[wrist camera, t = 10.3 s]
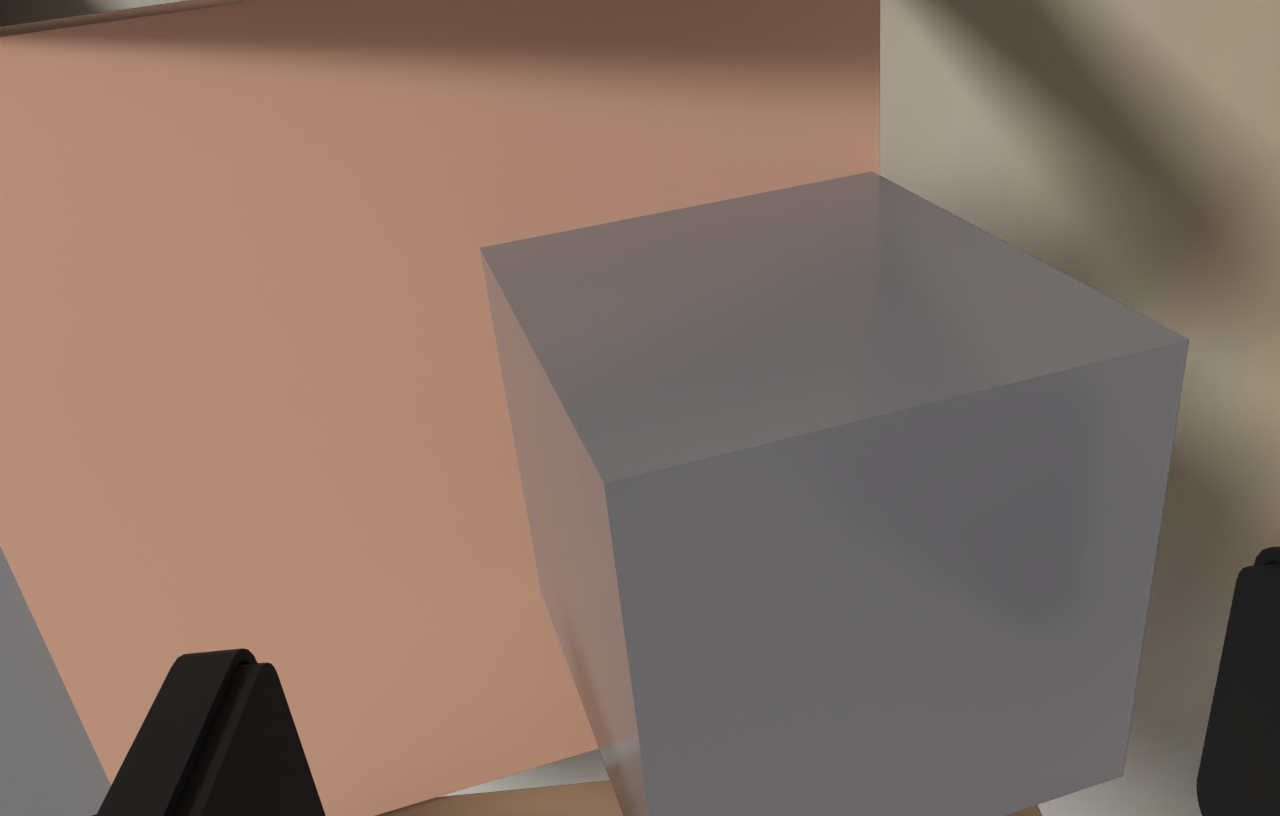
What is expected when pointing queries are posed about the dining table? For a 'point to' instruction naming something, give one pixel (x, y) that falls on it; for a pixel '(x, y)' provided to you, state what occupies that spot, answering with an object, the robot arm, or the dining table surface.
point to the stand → (542, 803)
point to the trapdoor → (332, 347)
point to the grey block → (836, 501)
